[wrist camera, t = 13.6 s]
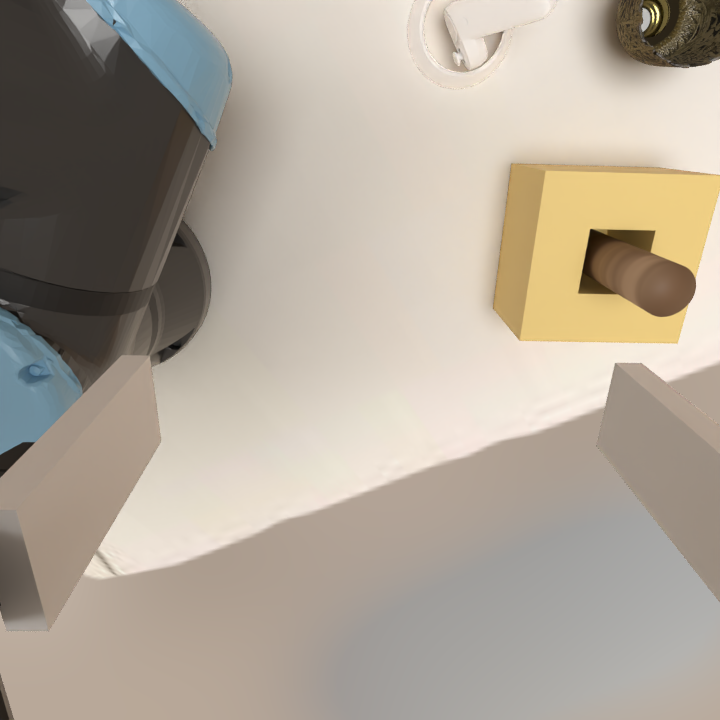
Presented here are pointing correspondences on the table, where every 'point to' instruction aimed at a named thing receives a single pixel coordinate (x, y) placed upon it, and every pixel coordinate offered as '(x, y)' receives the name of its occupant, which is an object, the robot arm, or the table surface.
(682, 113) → the table surface
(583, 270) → the walnut peg
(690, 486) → the robot arm
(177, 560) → the table surface
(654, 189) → the hole block
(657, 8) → the cup
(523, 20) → the hook
